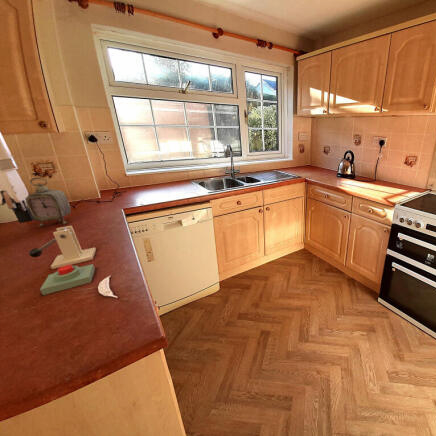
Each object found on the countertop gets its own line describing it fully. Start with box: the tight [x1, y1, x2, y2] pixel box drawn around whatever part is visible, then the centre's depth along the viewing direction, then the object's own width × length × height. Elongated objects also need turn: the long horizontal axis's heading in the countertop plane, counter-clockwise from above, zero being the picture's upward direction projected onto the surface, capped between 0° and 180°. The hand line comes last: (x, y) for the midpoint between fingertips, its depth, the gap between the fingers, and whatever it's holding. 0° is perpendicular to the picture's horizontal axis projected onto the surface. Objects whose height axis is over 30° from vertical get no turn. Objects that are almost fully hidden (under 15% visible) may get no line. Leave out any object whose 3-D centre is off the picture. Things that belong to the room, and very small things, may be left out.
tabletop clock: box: [26, 177, 72, 228], centre depth 125 cm, size 14×9×25 cm, turn 102°
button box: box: [39, 263, 96, 296], centre depth 81 cm, size 12×9×4 cm
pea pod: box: [97, 275, 119, 299], centre depth 76 cm, size 15×4×2 cm, turn 39°
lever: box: [28, 228, 72, 258], centre depth 90 cm, size 14×3×3 cm
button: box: [57, 264, 74, 275], centre depth 80 cm, size 4×4×2 cm
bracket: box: [50, 225, 97, 270], centre depth 93 cm, size 12×9×13 cm
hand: (27, 221), depth 81 cm, fingers closed
